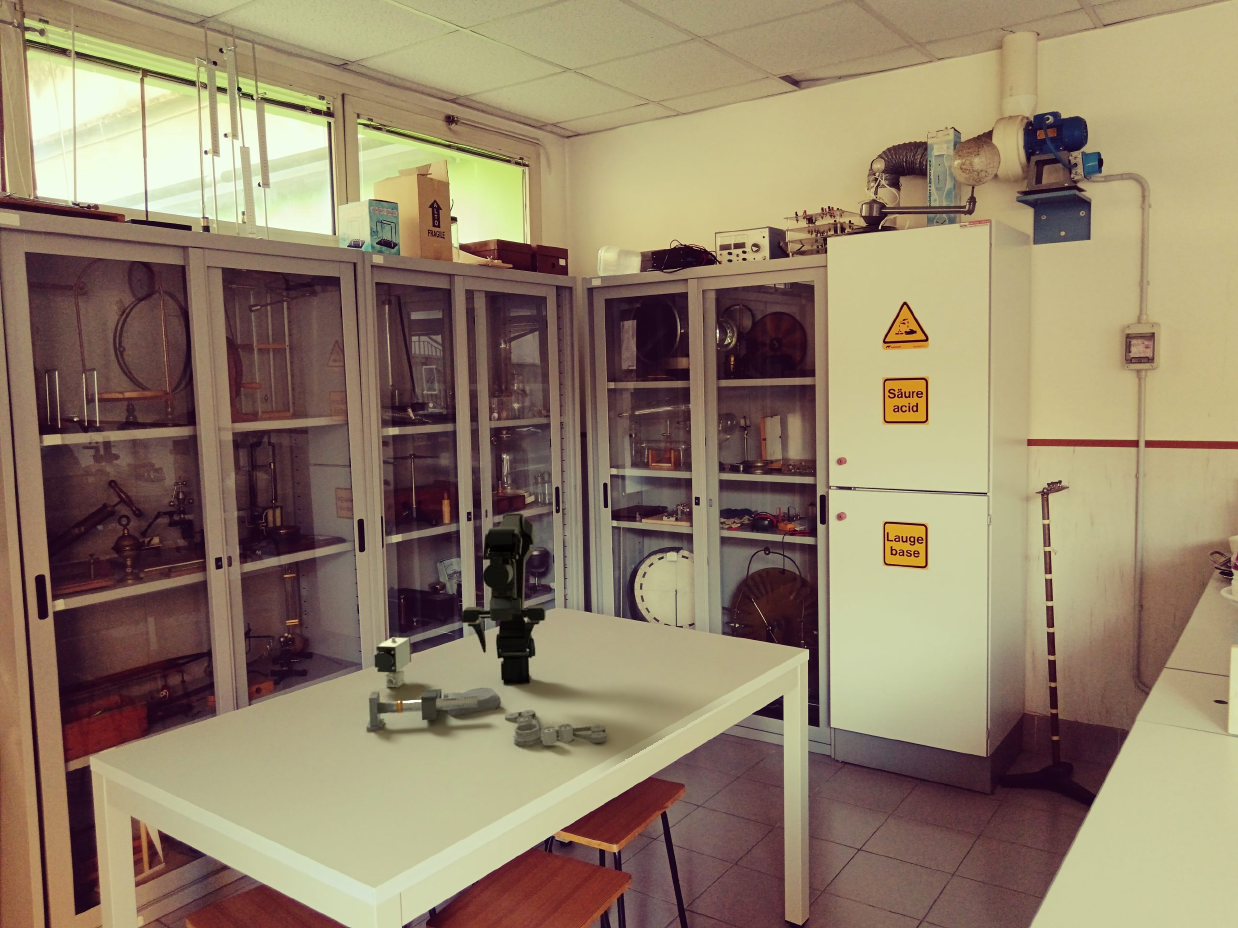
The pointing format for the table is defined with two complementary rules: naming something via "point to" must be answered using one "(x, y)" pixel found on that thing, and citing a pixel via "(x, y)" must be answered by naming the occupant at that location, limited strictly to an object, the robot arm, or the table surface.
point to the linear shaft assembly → (411, 707)
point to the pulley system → (549, 731)
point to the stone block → (485, 701)
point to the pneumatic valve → (393, 659)
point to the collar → (430, 704)
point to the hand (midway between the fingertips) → (504, 651)
